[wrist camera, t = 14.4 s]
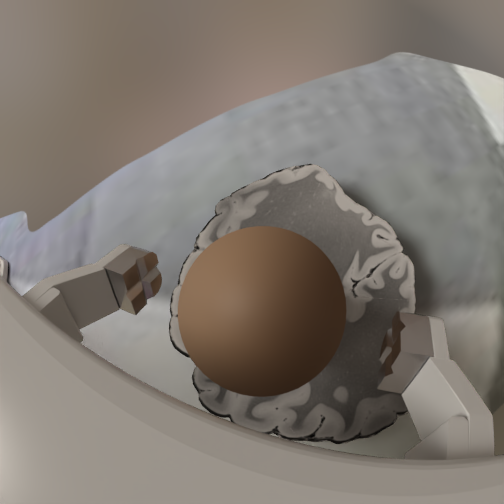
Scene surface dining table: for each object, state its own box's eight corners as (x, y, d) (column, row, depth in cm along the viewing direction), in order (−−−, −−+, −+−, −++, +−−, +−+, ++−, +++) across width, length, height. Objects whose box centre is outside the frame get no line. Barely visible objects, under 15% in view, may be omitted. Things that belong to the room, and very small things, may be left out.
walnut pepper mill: (244, 336, 17) (155, 347, 8) (274, 267, 18) (218, 206, 8) (313, 366, 16) (299, 423, 6) (344, 295, 16) (372, 260, 7)
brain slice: (159, 257, 24) (139, 248, 21) (331, 162, 22) (330, 141, 19) (250, 464, 17) (240, 481, 14) (447, 372, 15) (464, 378, 13)
